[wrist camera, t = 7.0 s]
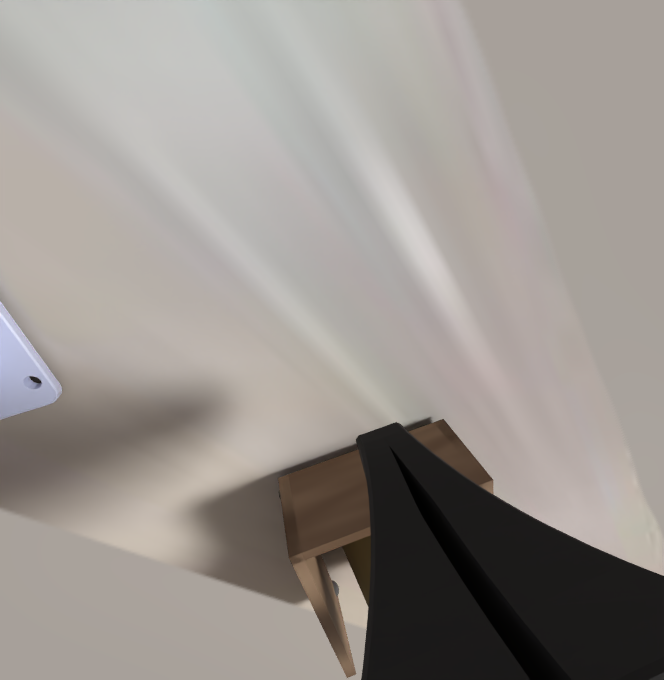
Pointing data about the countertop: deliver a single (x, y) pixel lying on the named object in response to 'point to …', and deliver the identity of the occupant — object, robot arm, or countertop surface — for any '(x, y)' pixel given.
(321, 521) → the wooden bracket shelf
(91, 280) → the countertop surface
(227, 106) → the countertop surface
